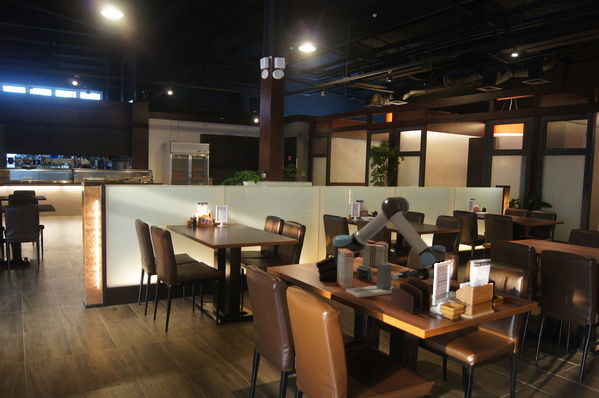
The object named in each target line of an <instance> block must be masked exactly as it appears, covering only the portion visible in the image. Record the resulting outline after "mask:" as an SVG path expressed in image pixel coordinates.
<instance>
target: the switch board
mask: <svg viewBox="0 0 599 398" xmlns="http://www.w3.org/2000/svg"><path fill="white" fill-rule="evenodd" d="M392 287H393V285H391V288H390V289H381V288H378V287H376V285H370V286H359V287H353V288H349V289H346V290H345V293H348V294H349V293H350V294H349V295H351V294H352V295H351V296H353V295H354V297H356V298H364V297H365V298H366V297H375V296H380V295H381V296H383V295H389V294H390V295H391V293H392Z"/></svg>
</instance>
